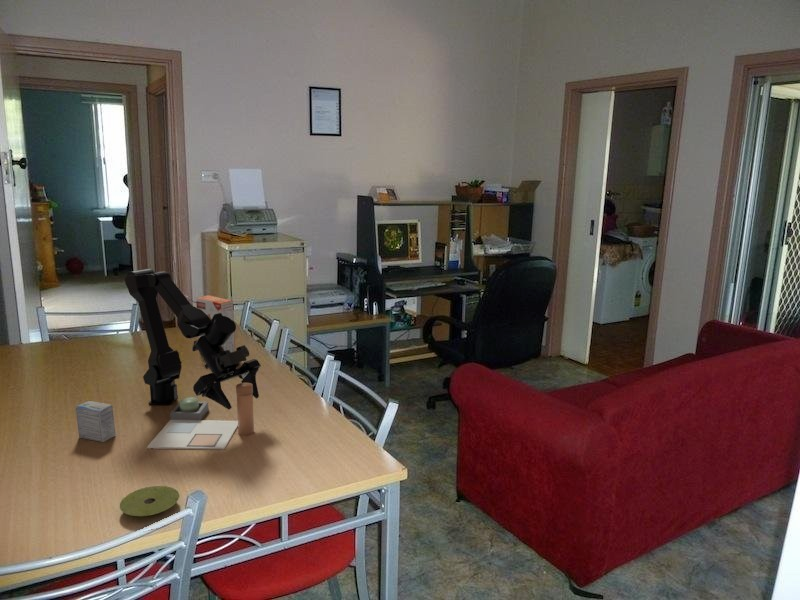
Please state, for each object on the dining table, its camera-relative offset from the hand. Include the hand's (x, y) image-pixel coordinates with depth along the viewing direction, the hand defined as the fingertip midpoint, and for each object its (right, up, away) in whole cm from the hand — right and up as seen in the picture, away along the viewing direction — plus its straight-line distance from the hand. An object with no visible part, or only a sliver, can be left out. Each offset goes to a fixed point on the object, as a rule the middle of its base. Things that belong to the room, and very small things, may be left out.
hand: (244, 403), depth 156 cm
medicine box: (-37, -8, -3) cm, 38 cm away
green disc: (-10, -16, -34) cm, 39 cm away
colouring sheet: (-12, -8, -1) cm, 15 cm away
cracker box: (-27, +7, +65) cm, 70 cm away
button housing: (-18, -5, +11) cm, 22 cm away
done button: (-18, -4, +11) cm, 22 cm away
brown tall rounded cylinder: (0, -8, +2) cm, 8 cm away
